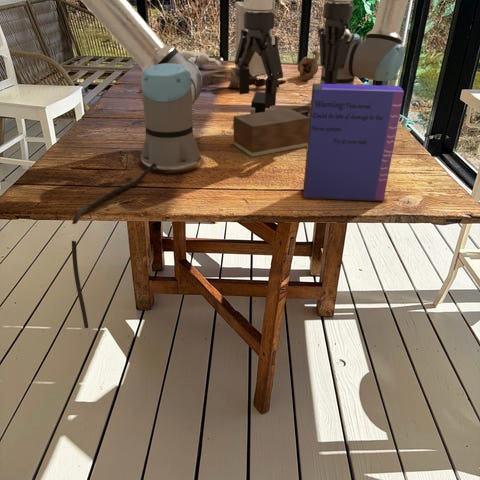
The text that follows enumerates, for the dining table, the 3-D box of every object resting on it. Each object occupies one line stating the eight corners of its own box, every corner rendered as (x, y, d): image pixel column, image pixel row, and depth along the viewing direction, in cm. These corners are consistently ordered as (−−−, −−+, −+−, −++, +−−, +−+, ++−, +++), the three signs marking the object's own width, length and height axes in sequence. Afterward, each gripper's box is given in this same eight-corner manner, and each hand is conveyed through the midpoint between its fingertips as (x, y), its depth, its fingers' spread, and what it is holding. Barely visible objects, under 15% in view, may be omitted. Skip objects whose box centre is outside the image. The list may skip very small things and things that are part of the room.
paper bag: (273, 76, 210) (276, 6, 196) (239, 77, 209) (240, 6, 194) (266, 67, 226) (268, 2, 212) (235, 67, 225) (235, 1, 210)
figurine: (210, 87, 179) (288, 95, 182) (212, 65, 176) (291, 73, 180) (208, 84, 201) (278, 91, 205) (210, 64, 198) (280, 71, 202)
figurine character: (269, 131, 150) (273, 112, 162) (270, 107, 146) (274, 90, 157) (248, 129, 151) (253, 111, 163) (248, 106, 146) (254, 89, 158)
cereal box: (379, 191, 109) (398, 84, 97) (383, 201, 105) (404, 90, 93) (303, 188, 110) (312, 82, 98) (304, 197, 106) (314, 88, 94)
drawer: (325, 126, 148) (328, 105, 145) (345, 135, 141) (348, 113, 138) (263, 137, 139) (264, 115, 135) (280, 147, 132) (282, 124, 128)
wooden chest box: (286, 135, 143) (288, 108, 139) (307, 146, 135) (310, 117, 131) (233, 144, 136) (233, 116, 131) (252, 156, 128) (252, 126, 123)
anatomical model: (307, 83, 216) (306, 83, 202) (293, 69, 215) (291, 69, 201) (327, 61, 212) (327, 60, 198) (313, 47, 211) (312, 45, 197)
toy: (176, 74, 211) (175, 58, 207) (152, 64, 228) (150, 49, 225) (222, 68, 223) (222, 53, 219) (196, 59, 240) (196, 44, 237)
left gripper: (301, 15, 108) (294, 109, 119) (247, 5, 126) (245, 87, 137) (273, 17, 105) (269, 113, 115) (222, 6, 123) (222, 90, 134)
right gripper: (366, 4, 122) (354, 97, 134) (334, -1, 131) (325, 87, 144) (343, 4, 118) (332, 100, 131) (312, 0, 128) (305, 89, 140)
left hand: (256, 99), depth 126 cm, fingers open, 13 cm apart
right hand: (328, 93), depth 137 cm, fingers closed
